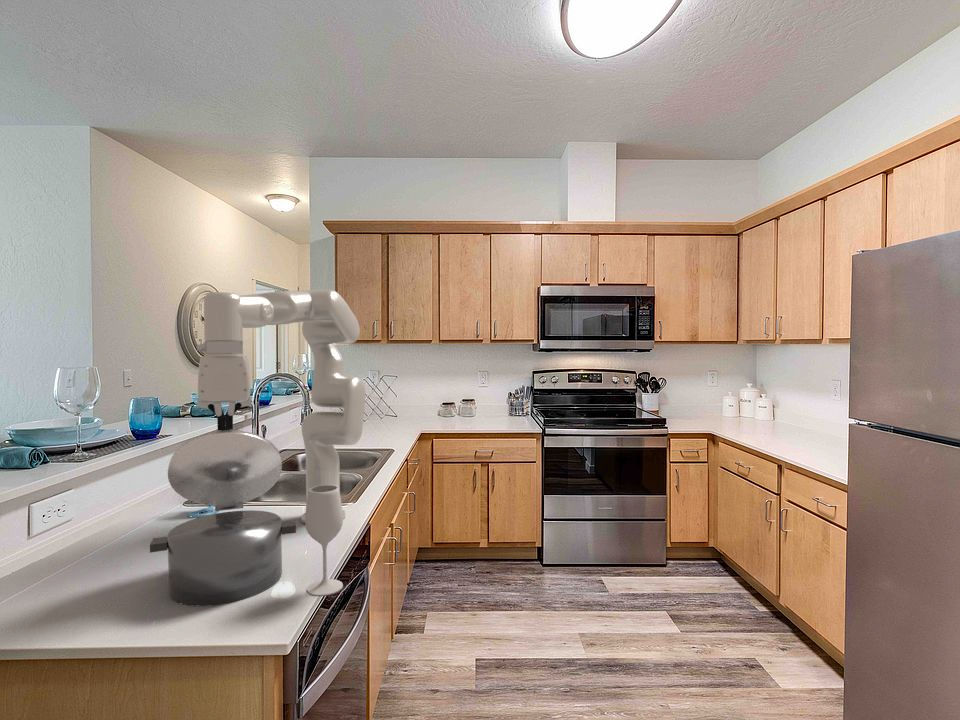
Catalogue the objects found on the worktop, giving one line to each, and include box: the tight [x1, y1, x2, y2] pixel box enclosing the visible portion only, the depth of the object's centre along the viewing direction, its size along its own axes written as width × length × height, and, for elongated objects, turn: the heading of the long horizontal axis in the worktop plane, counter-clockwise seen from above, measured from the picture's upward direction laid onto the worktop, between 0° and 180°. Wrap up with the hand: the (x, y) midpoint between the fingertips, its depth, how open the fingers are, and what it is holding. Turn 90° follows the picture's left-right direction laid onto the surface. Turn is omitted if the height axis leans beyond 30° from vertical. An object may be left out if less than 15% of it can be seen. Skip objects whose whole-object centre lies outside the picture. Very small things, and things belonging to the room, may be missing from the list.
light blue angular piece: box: [187, 505, 219, 518], centre depth 161 cm, size 8×8×12 cm
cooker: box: [149, 510, 297, 607], centre depth 114 cm, size 22×28×12 cm
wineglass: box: [304, 485, 344, 597], centre depth 110 cm, size 8×8×21 cm
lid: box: [167, 429, 283, 512], centre depth 119 cm, size 25×23×4 cm
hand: (225, 433), depth 115 cm, fingers closed
